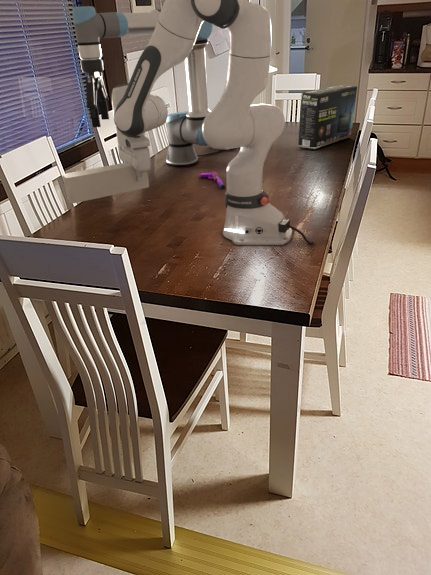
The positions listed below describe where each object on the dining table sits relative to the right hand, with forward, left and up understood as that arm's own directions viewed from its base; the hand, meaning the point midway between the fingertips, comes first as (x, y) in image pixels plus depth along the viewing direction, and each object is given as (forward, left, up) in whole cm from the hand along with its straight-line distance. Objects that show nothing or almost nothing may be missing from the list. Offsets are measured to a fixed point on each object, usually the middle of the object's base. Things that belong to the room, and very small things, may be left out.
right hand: (136, 178), depth 156 cm
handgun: (-14, -43, -14) cm, 48 cm away
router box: (-55, -116, -14) cm, 129 cm away
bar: (+7, +7, -3) cm, 11 cm away
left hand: (+20, -18, +14) cm, 31 cm away
